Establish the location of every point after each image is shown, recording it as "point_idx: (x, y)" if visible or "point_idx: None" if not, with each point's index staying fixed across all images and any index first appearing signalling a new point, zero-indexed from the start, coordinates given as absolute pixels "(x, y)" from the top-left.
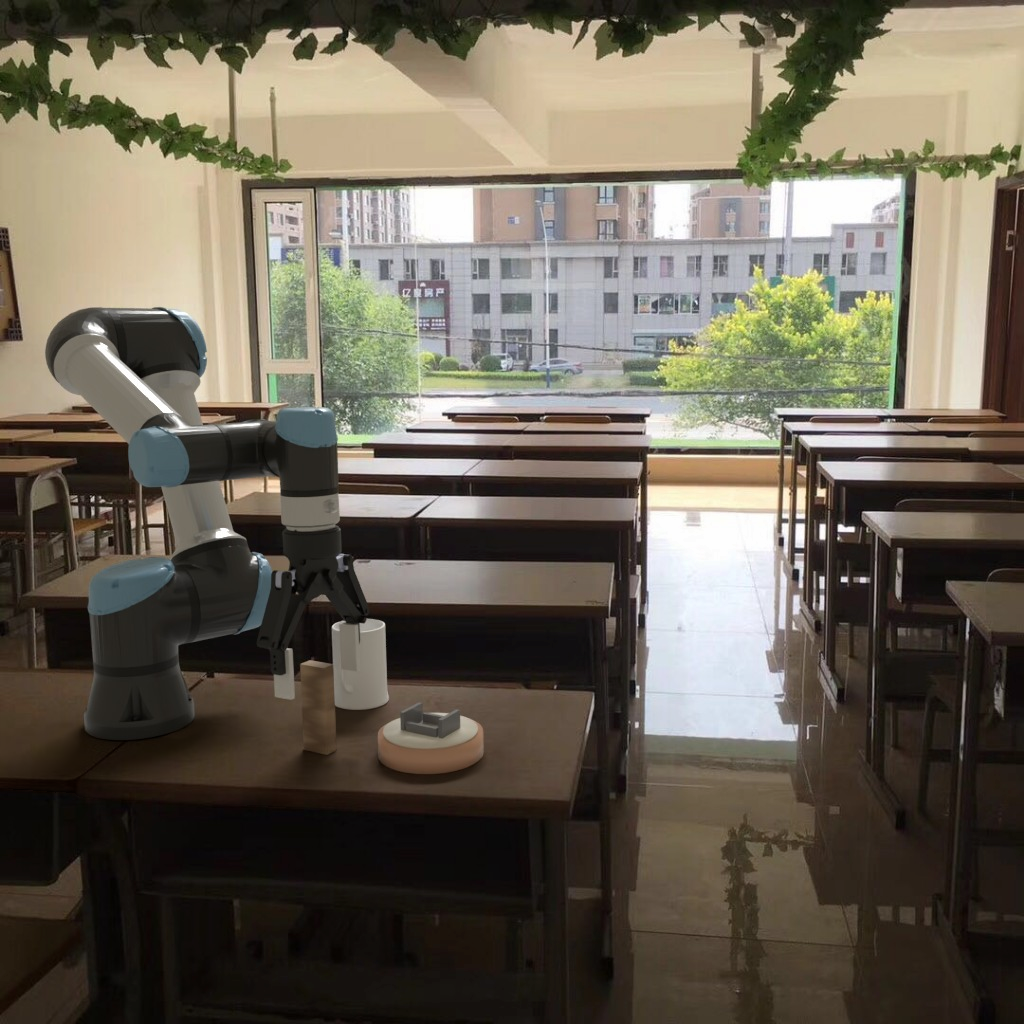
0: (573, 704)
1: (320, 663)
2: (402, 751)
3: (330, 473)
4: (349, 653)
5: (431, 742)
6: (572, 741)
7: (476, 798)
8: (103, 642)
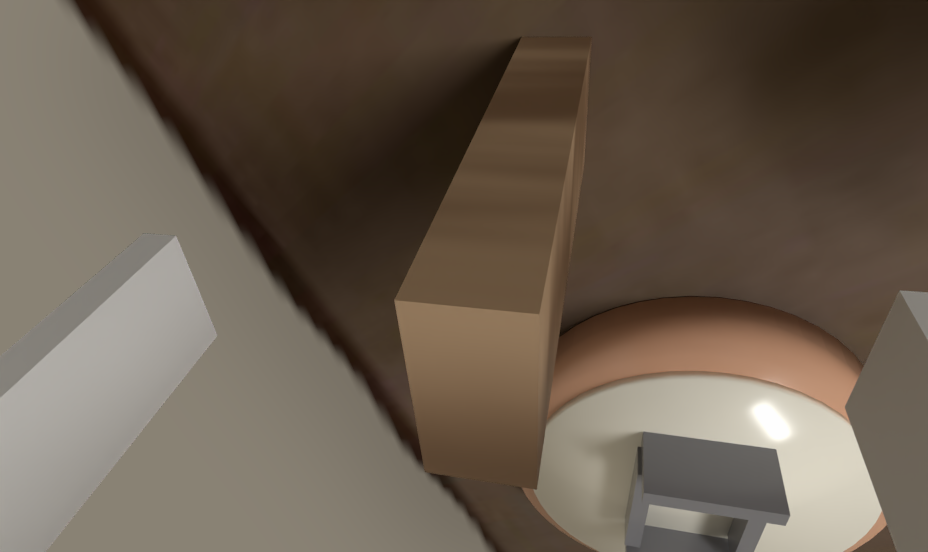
0: None
1: (505, 418)
2: None
3: None
4: (915, 486)
5: (582, 516)
6: None
7: (486, 539)
8: None
